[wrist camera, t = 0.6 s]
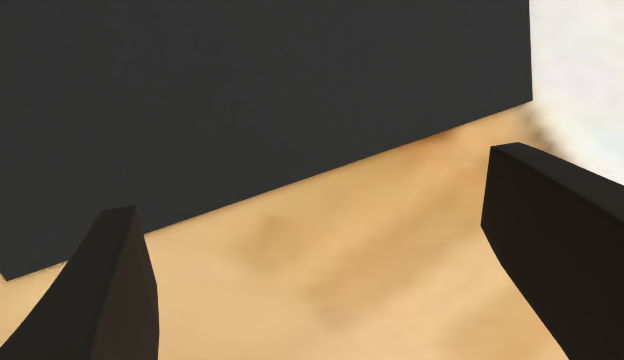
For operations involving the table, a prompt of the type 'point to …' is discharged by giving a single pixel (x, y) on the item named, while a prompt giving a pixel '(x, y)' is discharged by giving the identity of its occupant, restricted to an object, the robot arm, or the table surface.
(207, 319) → the table surface
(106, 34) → the mat
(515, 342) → the table surface
